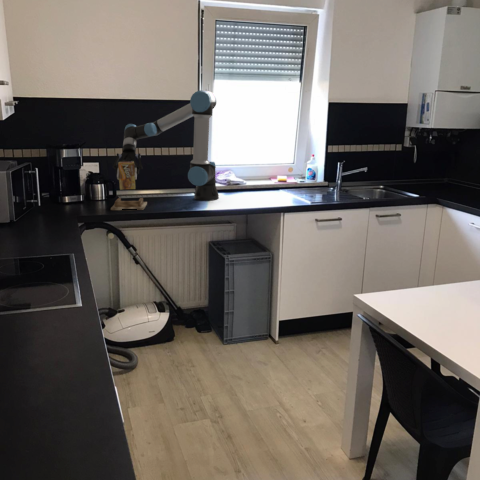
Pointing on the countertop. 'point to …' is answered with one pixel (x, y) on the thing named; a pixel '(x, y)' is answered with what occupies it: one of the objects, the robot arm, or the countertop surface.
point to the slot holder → (129, 204)
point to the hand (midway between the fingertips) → (126, 178)
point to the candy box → (126, 175)
